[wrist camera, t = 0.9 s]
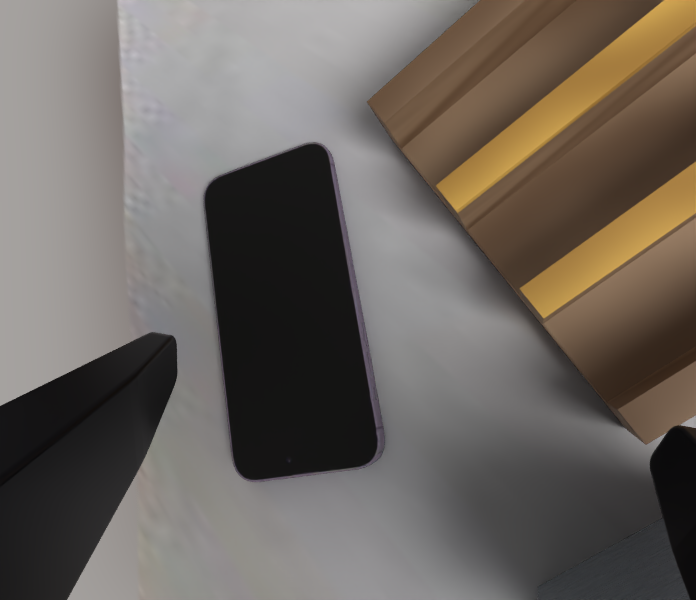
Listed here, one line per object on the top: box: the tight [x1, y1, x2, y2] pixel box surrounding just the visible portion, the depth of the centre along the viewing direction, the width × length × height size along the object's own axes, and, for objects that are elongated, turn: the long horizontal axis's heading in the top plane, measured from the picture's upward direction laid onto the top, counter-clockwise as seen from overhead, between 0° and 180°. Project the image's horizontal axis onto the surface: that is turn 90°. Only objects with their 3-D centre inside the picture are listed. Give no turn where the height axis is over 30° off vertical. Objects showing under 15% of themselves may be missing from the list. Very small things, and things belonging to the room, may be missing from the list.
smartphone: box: [204, 142, 385, 482], centre depth 23 cm, size 7×1×15 cm
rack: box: [367, 0, 696, 444], centre depth 17 cm, size 15×11×4 cm
